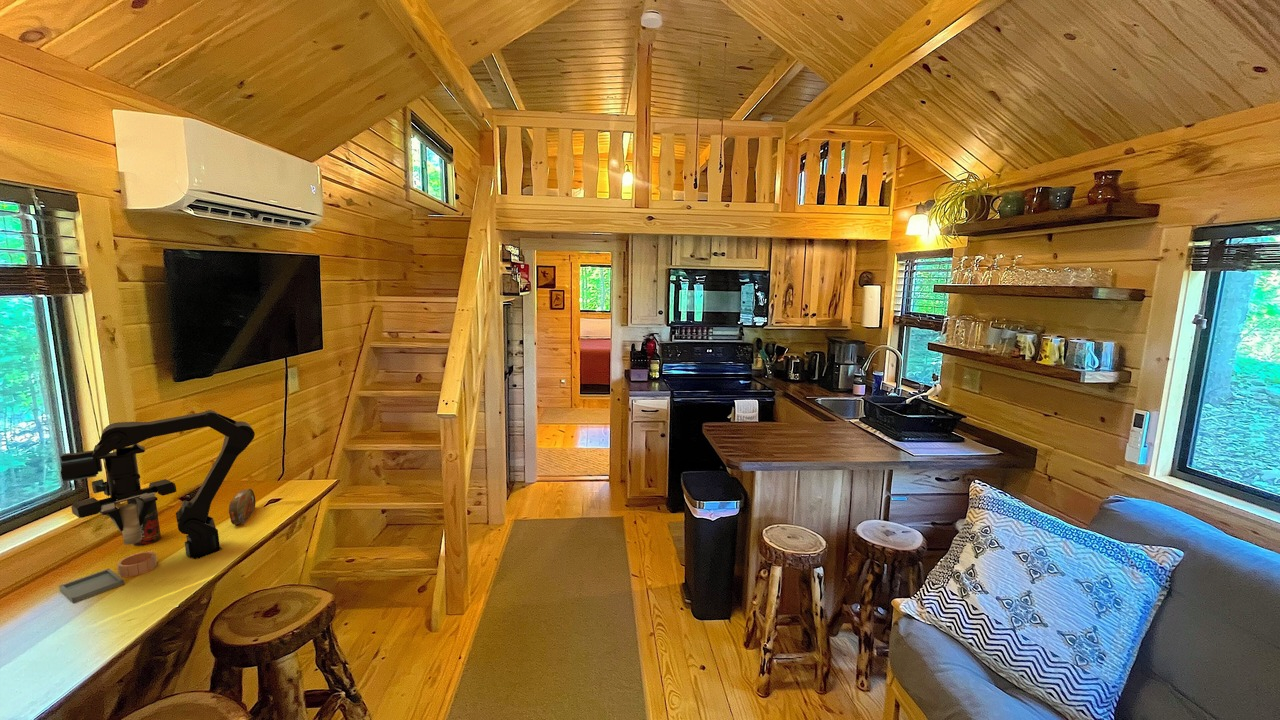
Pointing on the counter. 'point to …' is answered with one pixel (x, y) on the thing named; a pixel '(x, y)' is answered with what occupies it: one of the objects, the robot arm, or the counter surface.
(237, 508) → the tin
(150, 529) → the deodorant
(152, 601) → the counter surface
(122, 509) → the pin
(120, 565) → the terracotta faceted bowl
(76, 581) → the tray
